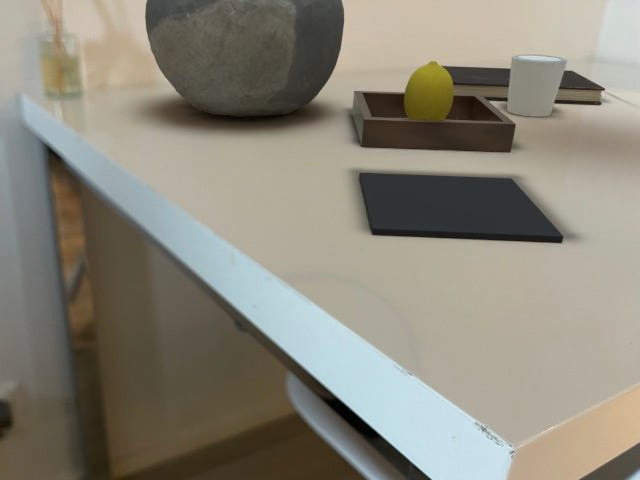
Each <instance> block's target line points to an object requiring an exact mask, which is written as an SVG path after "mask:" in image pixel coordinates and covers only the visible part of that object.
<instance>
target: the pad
mask: <svg viewBox="0 0 640 480" xmlns="http://www.w3.org/2000/svg"><path fill="white" fill-rule="evenodd" d="M358 179H359V182H360V187H361V192H362V196H363V201H364V204H365V208H366V213H367V216H368V221H369V222H368V223H369V226H370V231H371V234H372V235H383V236H406V237H432V238H453V239H454V238H457V239H476V240H477V239H480V240H500V241H501V240H502V241H523V242H524V241H525V242H526V241H527V242H547V243H548V242H549V243H551V242H552V243H562V242H563V240H564V235H563V234H562V233H561V232H560V231H559V229H558V228H557V227H556V226H555V225H554V223H552V222H551V221H550V220H549V218H548V217H547V216H546V215H545V214H544V213H543V212H542V210H541V209H540V208H539V207H538V206H537V205H536V204H535V202H533V201H532V199H531V198H530V197H529V196H528V195H527V194H526V192H525V191H524V190H523V189H522V188H521V187H520V186H519V184H517V182H515V180H514V179H513V178H511V177H492V176H491V177H489V176H465V175H464V176H463V175H437V174H436V175H435V174H408V173H386V172H385V173H382V172H381V173H380V172H359V175H358Z"/></svg>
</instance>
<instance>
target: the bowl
mask: <svg viewBox="0 0 640 480" xmlns="http://www.w3.org/2000/svg"><path fill="white" fill-rule="evenodd" d="M144 19H145V21H144V22H145V30H146V34H147V40H148V43H149V46H150V47H149V48H150V51H151V53H152V55H153V58H154V60H155V63H156V64H157V66H158V69H159V70H160V72H161V74H162V75H163V77H164V78H165V79H166V80H167V81H168V82H169V83H170V85H171V86H172V87H173V88H174V90H175V91H176V93H177V94H179V96H180V97H181V98H183V100H184V101H186V102H187V104H189V105H191V106H192V107H194V108H195V109H196V110H199V111H201V112H205V114H210V115H214V116H217V115H222V116H231V117H235V118H238V117H258V116H259V117H260V116H285V115H289V114H291V113H293V112H295V111H297V110H299V109H301V108H303V107H305V106H306V105H308V104H310V103H311V102H312V101H313V100H314V99H315V98H316V97H317V96H318V95H319V93H321V91H322V90H323V88H324V87H325V86H326V84H327V83H328V81H329V80H330V79H331V76H332V75H333V73H334V71H335V69H336V66H337V63H338V59H339V57H340V52H341V49H342V42H343V36H344V35H343V34H344V28H345V27H344V25H345V7H344V3H343V0H146V3H145V13H144Z"/></svg>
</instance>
